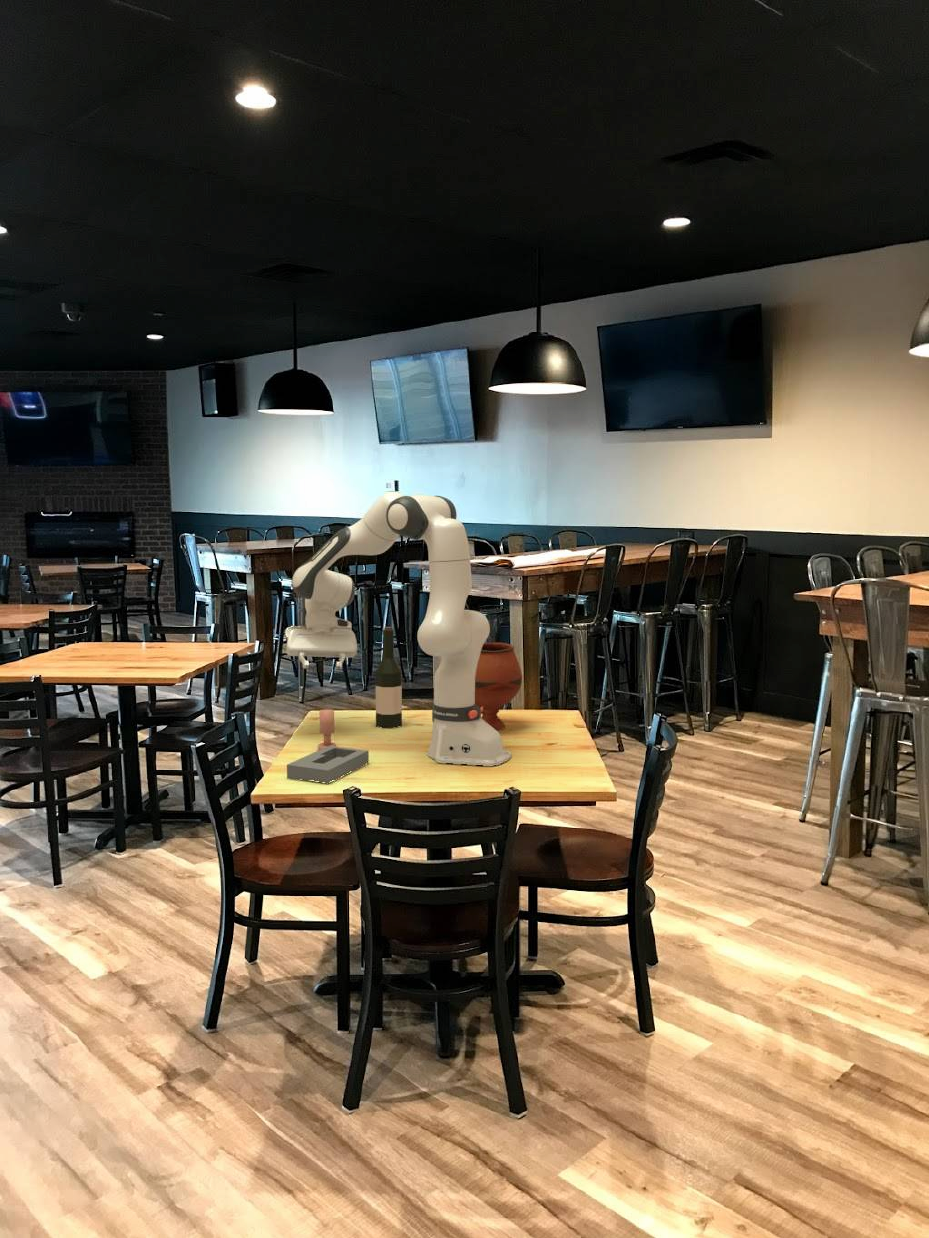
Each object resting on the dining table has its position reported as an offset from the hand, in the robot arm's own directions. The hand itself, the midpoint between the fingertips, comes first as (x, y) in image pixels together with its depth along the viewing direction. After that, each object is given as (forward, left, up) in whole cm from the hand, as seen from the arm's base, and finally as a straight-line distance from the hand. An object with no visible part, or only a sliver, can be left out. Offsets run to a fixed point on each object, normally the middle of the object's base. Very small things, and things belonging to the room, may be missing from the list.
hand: (322, 668), depth 287 cm
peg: (-7, +10, -21) cm, 24 cm away
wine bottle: (-9, -22, -21) cm, 32 cm away
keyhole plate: (-18, +27, -21) cm, 38 cm away
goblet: (-38, -32, -21) cm, 54 cm away
